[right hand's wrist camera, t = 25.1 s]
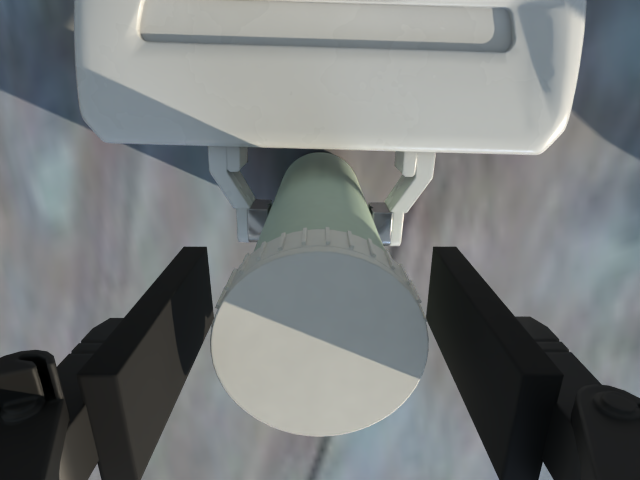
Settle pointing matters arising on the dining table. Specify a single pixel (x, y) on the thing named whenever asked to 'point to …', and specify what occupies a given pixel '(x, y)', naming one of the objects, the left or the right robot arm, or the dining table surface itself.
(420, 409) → the dining table surface
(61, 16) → the dining table surface
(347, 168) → the jar
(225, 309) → the lid
